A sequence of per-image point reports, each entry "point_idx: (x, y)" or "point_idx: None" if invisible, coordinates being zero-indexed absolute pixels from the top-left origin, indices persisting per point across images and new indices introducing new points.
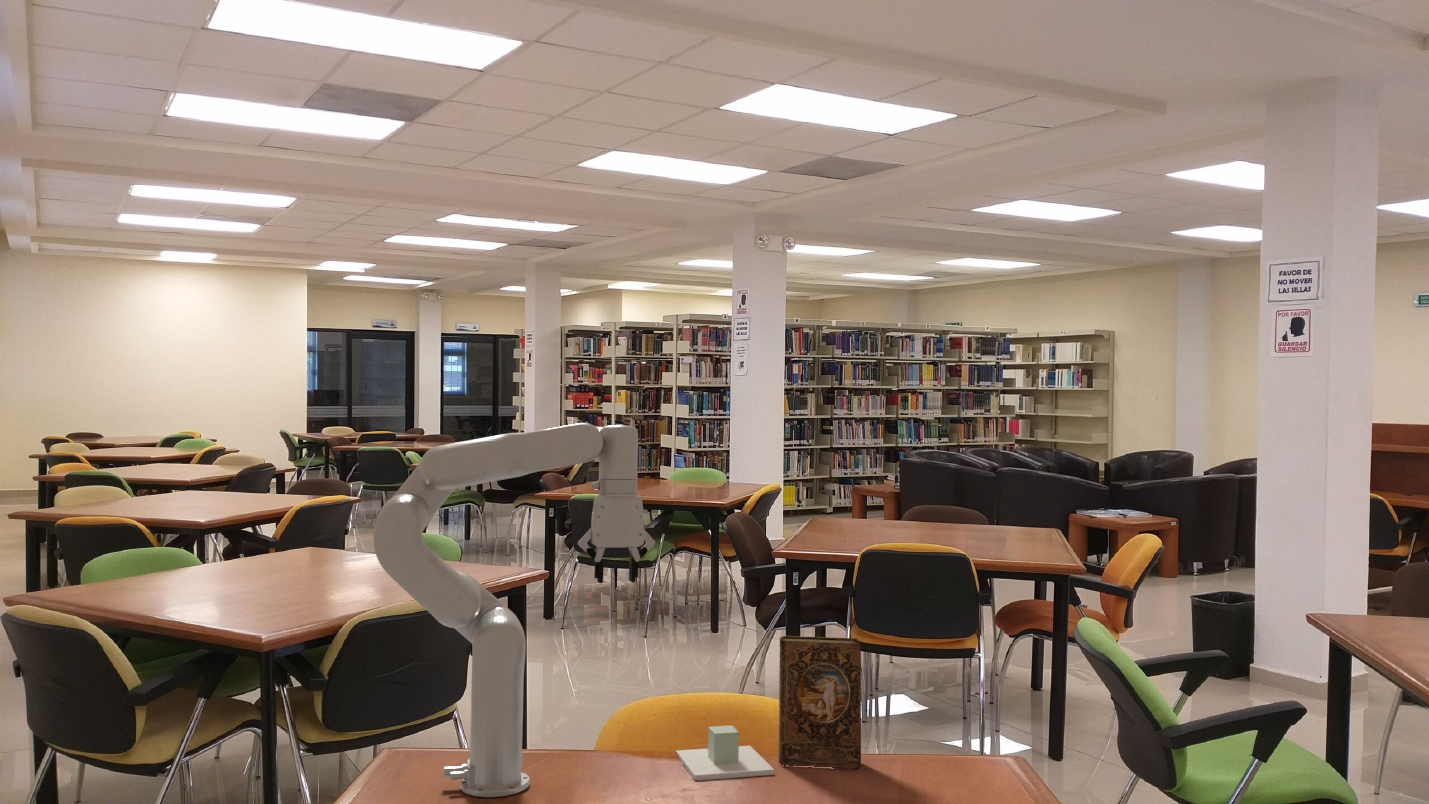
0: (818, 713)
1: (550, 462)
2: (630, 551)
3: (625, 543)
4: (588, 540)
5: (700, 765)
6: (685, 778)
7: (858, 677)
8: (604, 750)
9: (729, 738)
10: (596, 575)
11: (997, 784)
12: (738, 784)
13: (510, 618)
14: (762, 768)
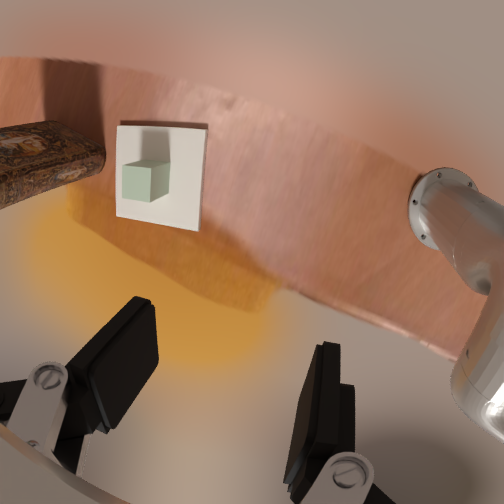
0: (37, 141)
1: None
2: (75, 463)
3: (35, 491)
4: None
5: (186, 164)
6: (215, 141)
7: None
8: (278, 283)
9: (137, 165)
10: (349, 390)
11: (3, 73)
12: (165, 103)
13: None
14: (126, 132)
